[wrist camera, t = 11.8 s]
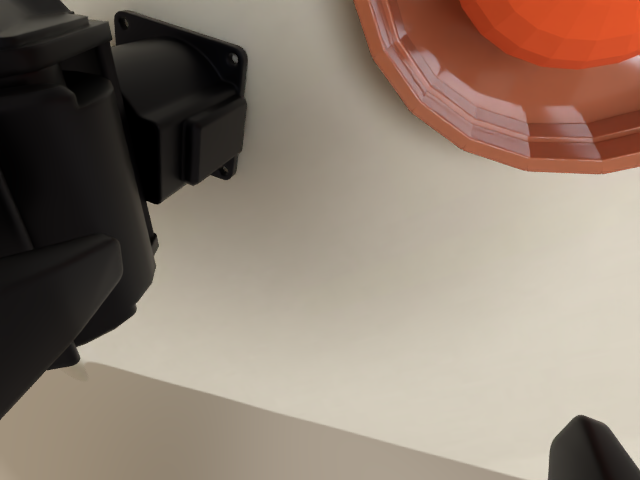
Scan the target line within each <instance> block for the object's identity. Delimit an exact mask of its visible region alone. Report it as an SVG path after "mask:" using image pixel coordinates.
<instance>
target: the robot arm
mask: <svg viewBox="0 0 640 480" xmlns="http://www.w3.org/2000/svg"><path fill="white" fill-rule="evenodd" d="M125 19H126V20H127V21H128V25H129V26H128V27H127V26H126V24H125ZM114 25H115V39H116V46H113V47H111V46H110V41H111V40H112V35H111V31H110V26H109V22H108V21H100V20H88V16H83V15H75V14H74V12H73V11H70V10H69V9H68V8H67V7H66V6H65V5H64V4H63V3H62V2H61V1H60V0H0V420H1V418H2V417H3V416H4V415H5V414H6V413H7V412H8V411H9V410H10V409H11V408H12V407H13V405H14V404H15V403H16V402H17V401H18V400H19V399H20V398H21V397H22V396H23V395H24V394H25V393H26V391H27V390H28V389H29V388H30V387H31V386H32V385H33V384H34V383H35V382H36V381H37V380H38V379H39V377H40V376H41V375H42V374H43V373H44V372H45V371H46V370H51V369H57V368H63V367H69V366H73V365H75V364H77V363H78V362H79V360H80V355H79V353H78V351H77V348H76V347H78V346H81V345H84V344H86V343H88V342H90V341H92V340H94V339H96V338H98V337H100V336H102V335H104V334H106V333H108V332H110V331H112V330H114V329H115V328H117V327H118V326H119V325H121V324H122V323H123V322H125V321H126V320H127V319H129V318H130V317H131V316H133V315H134V314H135V312H136V310H137V307H136V303H137V302H138V301H139V299H140V298H141V297H142V295H143V294H144V293H145V291H146V290H147V289H148V287H149V286H150V285H151V283H152V281H153V277H154V273H155V269H156V264H155V260H154V255H155V253H156V251H157V249H158V247H159V243H158V239H157V235H156V234H155V233H153V228H152V224H151V220H150V215H149V211H148V207H147V202H146V201H148V202H151V203H153V204H160V203H161V202H162V201H164V200H165V199H167V198H168V197H169V196H171V195H172V194H174V193H175V192H176V191H178V190H179V189H180V188H182V187H183V186H185V185H186V184H190V185H192V186H194V185H196V184H198V183H200V182H201V181H202V180H204V179H205V178H206V177H208V176H209V175H212V176H215V177H218V178H220V179H223V180H228V179H230V178H231V177H233V176H234V175H235V173H236V168H237V158H238V153H240V152H241V151H242V145H243V136H244V127H245V118H246V109H247V103H246V100H245V98H244V90H245V80H246V71H247V55H246V52H245V51H244V50H243V48H241V47H240V46H238V45H234V44H231V43H228V42H225V41H222V40H219V39H216V38H213V37H210V36H206V35H203V34H200V33H197V32H194V31H191V30H188V29H185V28H182V27H178V26H175V25H172V24H169V23H166V22H163V21H160V20H157V19H154V18H151V17H147V16H144V15H141V14H138V13H135V12H132V11H128V10H124V11H119V12H117V13H116V14H115V17H114ZM233 53H234V54H236V56H237V57H238V63H237V64H236V63H235V62H234V61H233V59H232V54H233ZM223 166H224V167H226V168H227V170H228V172H226V171H225V170H224V169H223ZM548 480H640V470H639V469H638V467H637V466H636V465H635V463H634V462H633V460H632V459H631V458H630V456H629V455H628V453H627V452H626V451H625V449H624V448H623V446H622V445H621V444H620V442H619V441H618V439H617V438H616V437H615V435H614V434H613V433H612V431H611V430H610V429H609V427H608V426H607V425H605V424H604V423H602V422H600V421H597V420H594V419H592V418H589V417H586V416H584V415H578V416H576V417H574V418H573V419H572V420H571V421H570V422H569V423H568V424H567V425H566V427H565V428H564V429H563V430H562V431H561V432H560V433H559V434H558V435H557V436H556V437H555V438H554V440H553V442H552V444H551V448H550V456H549V472H548Z"/></svg>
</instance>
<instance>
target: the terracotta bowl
mask: <svg viewBox="0 0 640 480" xmlns="http://www.w3.org/2000/svg"><path fill="white" fill-rule="evenodd" d="M353 1H354V4H355V7H356V11H357V14H358V17H359V20H360V23H361V26H362V29H363V32H364V35H365V38H366V41H367V44H368V47H369V50H370V53H371V56H372V57H373V60H374V61H375V63H376V64H377V66H378V67H379V68H380V70H381V71H382V73H383V74H384V76H385V77H386V78H387V80H388V81H389V83H390V84H391V85H392V87H393V88H394V90H395V91H396V92H397V94H398V95H399V97H400V98H401V99H402V101H403V102H404V104H405V105H406V107H407V108H408V109H409V111H411V112H412V114H414V115H415V116H416V117H418V118H419V119H421V120H422V121H423V122H425V123H426V124H427V125H429V126H430V127H431V128H433V129H434V130H435V131H437V132H438V133H440V134H441V135H442V136H444V137H445V138H446V139H448V140H449V141H450V142H452V143H453V144H455V145H456V146H457V147H459V148H460V149H463V150H464V151H466V152H469V153H472V154H475V155H478V156H481V157H484V158H487V159H490V160H493V161H496V162H499V163H502V164H505V165H508V166H511V167H514V168H517V169H520V170H523V171H531V172H556V173H580V174H601V173H602V174H606V173H611V172H616V171H621V170H625V169H630V168H635V167H640V55H638V56H635V57H633V58H630V59H628V60H625V61H622V62H620V63H616V64H610V65H604V66H597V67H591V68H585V69H579V70H576V69H563V68H550V67H541V66H538V65H535V64H532V63H530V62H527V61H524V60H522V59H519V58H516V57H513V56H511V55H508V54H506V53H505V52H503V51H502V50H501V49H499V48H498V47H497V46H495V45H494V44H493V43H491V42H490V41H489V40H487V39H486V38H485V37H484V36H482V35H481V34H480V33H479V31H478V30H477V28H476V27H475V26H474V24H473V23H472V21H471V20H470V18H469V17H468V16H467V14H466V13H465V11H464V10H463V9H462V7H461V4H460V1H459V0H353Z"/></svg>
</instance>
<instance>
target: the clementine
mask: <svg viewBox="0 0 640 480" xmlns="http://www.w3.org/2000/svg"><path fill="white" fill-rule="evenodd" d="M459 1H460V4H461V7H462V9H463V10H464V11H465V13H466V14H467V16H468V17H469V18H470V20H471V21H472V23H473V24H474V26H475V27H476V28H477V30H478V31H479V33H480V34H481V35H482V36H484V37H485V38H486V39H487V40H489V41H490V42H491V43H493V44H494V45H495V46H497V47H498V48H499V49H501V50H502V51H503V52H505V53H506V54H508V55H511V56H513V57H516V58H519V59H522V60H524V61H527V62H530V63H532V64H535V65H538V66H541V67H550V68H563V69H576V70H579V69H585V68H591V67H597V66H604V65H610V64H616V63H620V62H622V61H625V60H628V59H630V58H633V57H635V56H638V55H640V0H459Z"/></svg>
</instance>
